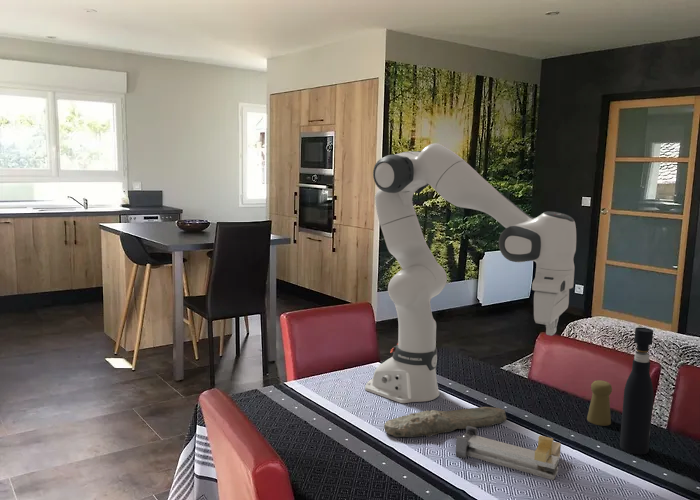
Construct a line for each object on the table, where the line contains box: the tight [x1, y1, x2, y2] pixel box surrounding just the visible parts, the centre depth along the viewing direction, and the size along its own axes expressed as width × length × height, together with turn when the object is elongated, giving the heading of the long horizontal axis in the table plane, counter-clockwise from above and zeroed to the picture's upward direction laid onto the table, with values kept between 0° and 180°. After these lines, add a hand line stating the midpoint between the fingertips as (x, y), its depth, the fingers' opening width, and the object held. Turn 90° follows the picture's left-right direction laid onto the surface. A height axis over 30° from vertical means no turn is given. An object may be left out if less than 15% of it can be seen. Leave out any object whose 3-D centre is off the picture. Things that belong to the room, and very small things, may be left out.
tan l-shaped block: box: [534, 435, 554, 463], centre depth 131 cm, size 3×5×4 cm, turn 148°
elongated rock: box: [383, 406, 507, 438], centre depth 155 cm, size 35×5×10 cm
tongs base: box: [455, 426, 559, 481], centre depth 136 cm, size 22×7×5 cm, turn 58°
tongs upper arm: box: [461, 431, 560, 473], centre depth 136 cm, size 22×5×2 cm, turn 58°
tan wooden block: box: [552, 440, 562, 459], centre depth 137 cm, size 4×6×4 cm, turn 148°
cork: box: [586, 379, 613, 427], centre depth 159 cm, size 6×6×11 cm
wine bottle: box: [619, 326, 655, 455], centre depth 142 cm, size 6×6×30 cm
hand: (550, 333), depth 146 cm, fingers closed
